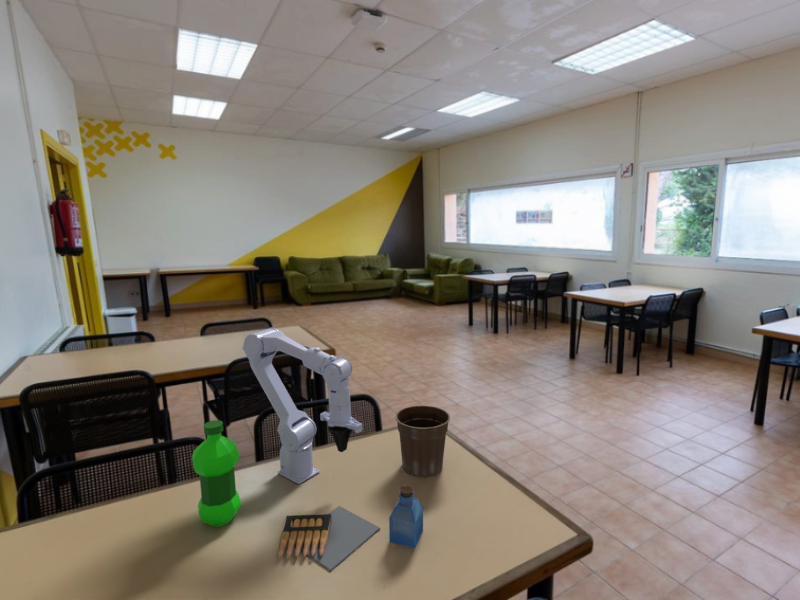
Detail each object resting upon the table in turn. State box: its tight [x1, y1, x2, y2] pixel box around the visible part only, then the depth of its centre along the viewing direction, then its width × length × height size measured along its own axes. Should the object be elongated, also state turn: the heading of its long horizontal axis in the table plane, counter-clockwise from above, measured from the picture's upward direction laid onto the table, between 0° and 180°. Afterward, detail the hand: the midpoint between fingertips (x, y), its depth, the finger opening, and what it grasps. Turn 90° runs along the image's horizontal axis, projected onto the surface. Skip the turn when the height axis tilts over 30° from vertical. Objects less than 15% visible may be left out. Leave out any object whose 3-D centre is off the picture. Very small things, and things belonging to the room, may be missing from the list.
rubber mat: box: [294, 505, 381, 572], centre depth 100 cm, size 14×16×1 cm
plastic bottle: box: [191, 419, 242, 528], centre depth 104 cm, size 10×10×25 cm
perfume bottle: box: [388, 484, 424, 549], centre depth 99 cm, size 6×6×12 cm
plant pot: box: [394, 405, 451, 478], centre depth 128 cm, size 16×16×16 cm
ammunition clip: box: [278, 513, 331, 559], centre depth 98 cm, size 11×2×12 cm
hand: (342, 450), depth 118 cm, fingers closed
